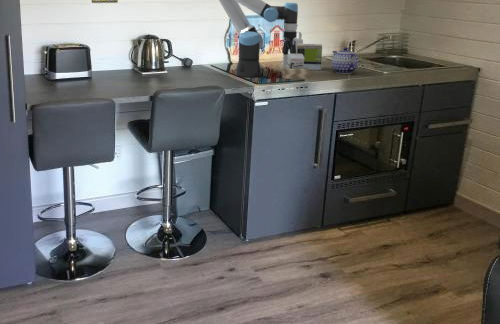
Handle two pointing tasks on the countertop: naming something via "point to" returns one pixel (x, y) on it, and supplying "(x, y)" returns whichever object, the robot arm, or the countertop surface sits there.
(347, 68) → the teapot
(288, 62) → the ink box
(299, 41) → the grater
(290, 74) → the batten
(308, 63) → the tea box
